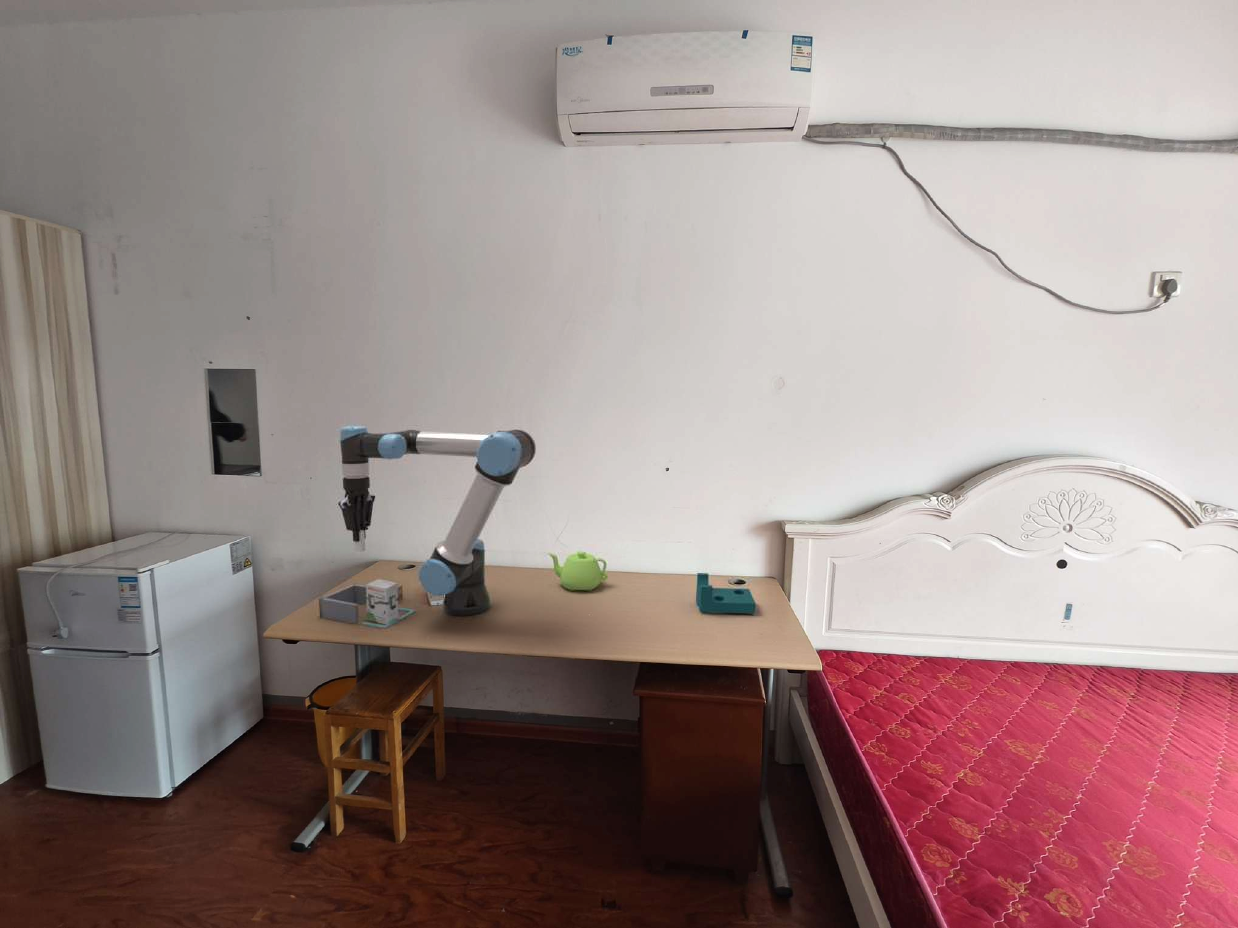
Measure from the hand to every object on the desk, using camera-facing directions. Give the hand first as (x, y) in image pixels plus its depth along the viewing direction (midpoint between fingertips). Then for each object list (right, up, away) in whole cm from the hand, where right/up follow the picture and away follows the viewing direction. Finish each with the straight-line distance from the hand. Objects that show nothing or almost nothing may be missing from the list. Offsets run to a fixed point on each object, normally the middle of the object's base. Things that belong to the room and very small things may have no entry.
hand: (360, 550), depth 178 cm
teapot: (+66, -18, +32) cm, 75 cm away
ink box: (+8, -21, -1) cm, 23 cm away
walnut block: (+5, -19, +14) cm, 24 cm away
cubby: (-3, -20, +4) cm, 21 cm away
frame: (+9, -21, 0) cm, 23 cm away
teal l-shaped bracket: (+117, -22, +14) cm, 120 cm away
